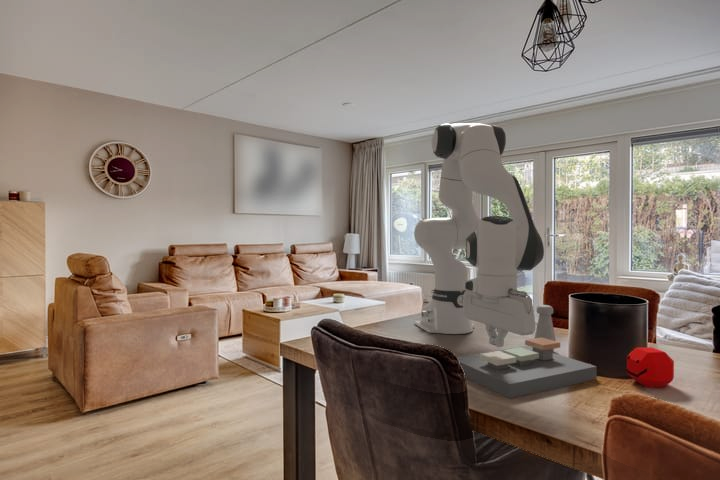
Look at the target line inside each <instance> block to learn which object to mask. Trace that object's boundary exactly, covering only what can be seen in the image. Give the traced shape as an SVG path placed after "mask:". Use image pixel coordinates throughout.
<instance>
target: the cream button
mask: <svg viewBox="0 0 720 480" xmlns="http://www.w3.org/2000/svg"><path fill="white" fill-rule="evenodd" d="M494 351H495V352H492V351H488V352H489V353H486V352H482V353H483V354H480V359H482V360H484V361H487V362H488V366H489V367H492V368H494V369H497V370H500V369H505V368H508V364H510V363H515V362H516V357H515V356H512V355H509V354H506V353H503V352H501V351H498V350H494Z"/></svg>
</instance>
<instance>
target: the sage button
mask: <svg viewBox="0 0 720 480" xmlns="http://www.w3.org/2000/svg"><path fill="white" fill-rule="evenodd" d="M519 347H520V348H517V347H513V348H514V349H511V348H507V349H508V350H504V349H502V350H503V353H506V354H509V355H512V356H515V357H516V362H515V364H518V365H527V364H531V360H532V359H538V358H539V353H537V352H534V351H530V350H527V349H524V348H521V347H522V346H519Z"/></svg>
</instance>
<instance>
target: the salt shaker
mask: <svg viewBox="0 0 720 480" xmlns="http://www.w3.org/2000/svg"><path fill="white" fill-rule="evenodd" d="M536 313H537V315H538V319H537V323H536V328H535V334H534V338H541V337H542V338H546V339H549V340H553V341H557V340H556V334H555V329H554V324H553V318H552V315H553V314H554V308H553V307H552V306H551V305H548V304H539V305H538V306H537V307H536ZM555 349H556V348H554V349H553V352H554V351H555Z"/></svg>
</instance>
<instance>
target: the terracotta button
mask: <svg viewBox="0 0 720 480" xmlns="http://www.w3.org/2000/svg"><path fill="white" fill-rule="evenodd" d="M524 345H525V346H531V347H533V351H534V352H537V353H539V358H538V359H539V360H542V361H545V360H550V359H553V353H554V351H553V349H554V348H555V349H560V348H561V342H560V341H557V340H556V341H553V340H549V339H546V338H542V337H541V338H535V337H534V338H528V339H525V340H524ZM555 349H554V350H555Z"/></svg>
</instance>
